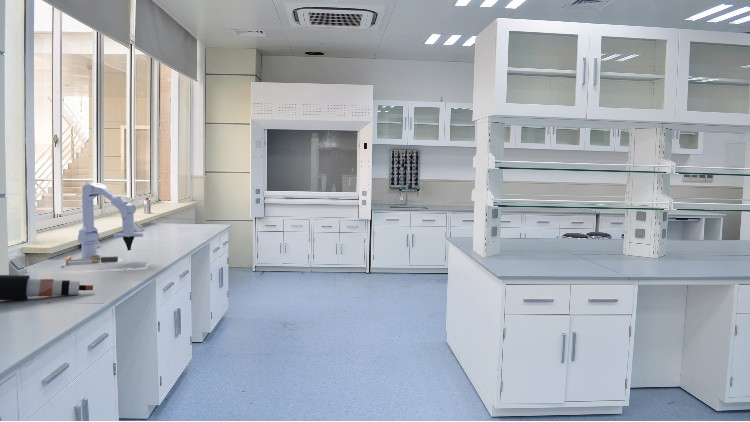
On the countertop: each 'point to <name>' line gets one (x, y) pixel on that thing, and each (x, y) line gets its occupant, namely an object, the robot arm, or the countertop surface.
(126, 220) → the robot arm
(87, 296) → the countertop surface
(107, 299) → the countertop surface
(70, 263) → the channel
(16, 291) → the cable
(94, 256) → the slider block
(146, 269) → the countertop surface
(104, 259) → the bar
